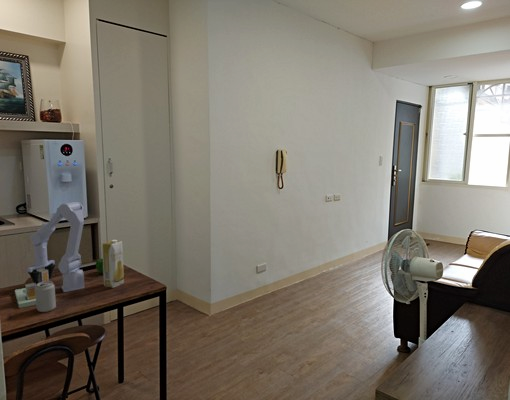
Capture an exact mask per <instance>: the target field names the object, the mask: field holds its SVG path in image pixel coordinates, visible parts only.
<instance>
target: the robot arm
mask: <svg viewBox="0 0 510 400" xmlns="http://www.w3.org/2000/svg"><path fill="white" fill-rule="evenodd" d="M84 209H85V208H84V205H82V204H81V202H79V201H76V200H75V201H71V202H66V203H61V204H60V205H59V206H58V207H57V208H56V211H55V213H54V214H53V215H52V217H51V218H50V219H49V221H46V222H43V223H42V224H41V227H40V228H39V229H37V230H36V233H32V234H30V235H31V236H30V238H29V240H30V243H31V245H33V258H34V263H33V265H31V266H29V267H27V273H28V275H29V276H30V277H31V280H32V282H33V283H36V285H37V284H38V283H39V280H38V277H39V271H37V270H40V269H47V270H48V275H49V280H52V279H51V278H52V275H53V272H54V269H55V267H56V265H55V264H56V263H55V261H56V260H54V259H50V260H48V248H47V247H48V242H49V239H50V236H51V235H52V234H53V233H54V232H55V230H56V225H57V224H59V223H60V222H61V221H62V219H63V218H64V220H66V221H67V222H69V223H70V229H69V233H68V238H67V239H68V240H67V244H66V250H65V253H64V255H63V256H62V257H61V259H60V262H59V263H58V266H57V268H58V270H59V272H60V274H62V285H61V289H62V291H63V293H67V292H73V291H77V290H83V289H85V288H86V287H85V276H84V275H85V274H84V271H83V269H80V267H81V266H82V259H81V258H82V255H81V254H80V253H79V250H80V245H81V239H82V233H83V228H84V224H85V219H84Z"/></svg>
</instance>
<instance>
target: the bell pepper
mask: <svg viewBox="0 0 510 400" xmlns="http://www.w3.org/2000/svg"><path fill="white" fill-rule="evenodd" d="M95 267H96V270H97V272H98V274H101V275H102V274H103V257H102V258H97V259H96V262H95Z"/></svg>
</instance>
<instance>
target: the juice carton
mask: <svg viewBox="0 0 510 400" xmlns="http://www.w3.org/2000/svg"><path fill="white" fill-rule="evenodd" d="M101 249H102V251H101V252H102V254H101V255H102V258H103V276H102V277H103V286H104V287H107V288H113V289H114V288H116V287H119V286H121V285H122V284H124V282H125V278H124V276H125V275H124V274H125V273H124V272H125V271H124V250H123V241H121V240H118V239H112V240H110V241H107V242H103V243H101Z"/></svg>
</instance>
